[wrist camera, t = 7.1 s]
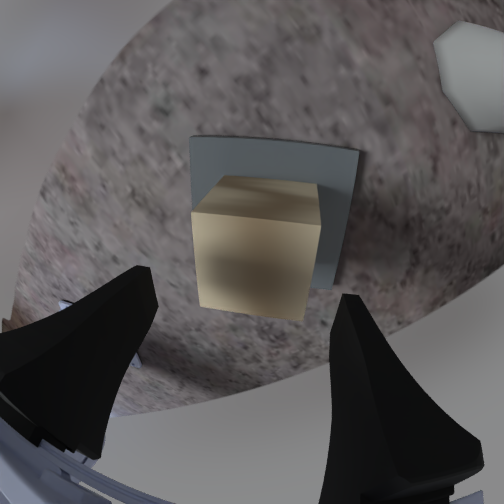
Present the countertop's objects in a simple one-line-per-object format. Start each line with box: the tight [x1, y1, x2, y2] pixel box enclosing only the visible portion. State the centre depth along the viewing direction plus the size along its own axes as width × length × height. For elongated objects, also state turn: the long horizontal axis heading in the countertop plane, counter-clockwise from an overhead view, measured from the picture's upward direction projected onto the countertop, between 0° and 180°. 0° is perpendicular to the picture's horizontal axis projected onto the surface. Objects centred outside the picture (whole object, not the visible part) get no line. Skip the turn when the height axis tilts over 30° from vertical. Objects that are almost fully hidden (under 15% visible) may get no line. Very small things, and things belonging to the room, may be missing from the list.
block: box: [191, 175, 321, 321], centre depth 14 cm, size 5×5×5 cm
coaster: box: [189, 136, 359, 290], centre depth 16 cm, size 9×9×1 cm
